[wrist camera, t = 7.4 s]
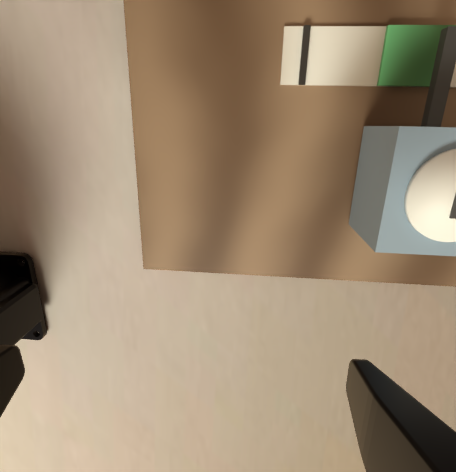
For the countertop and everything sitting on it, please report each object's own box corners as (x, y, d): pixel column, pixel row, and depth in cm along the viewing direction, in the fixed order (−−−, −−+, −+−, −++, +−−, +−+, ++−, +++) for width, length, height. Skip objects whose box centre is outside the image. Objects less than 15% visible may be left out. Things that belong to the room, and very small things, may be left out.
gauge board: (148, 262, 20) (107, 315, 14) (131, 2, 15) (59, -69, 10) (512, 282, 19) (623, 350, 13) (613, 0, 14) (857, -86, 8)
